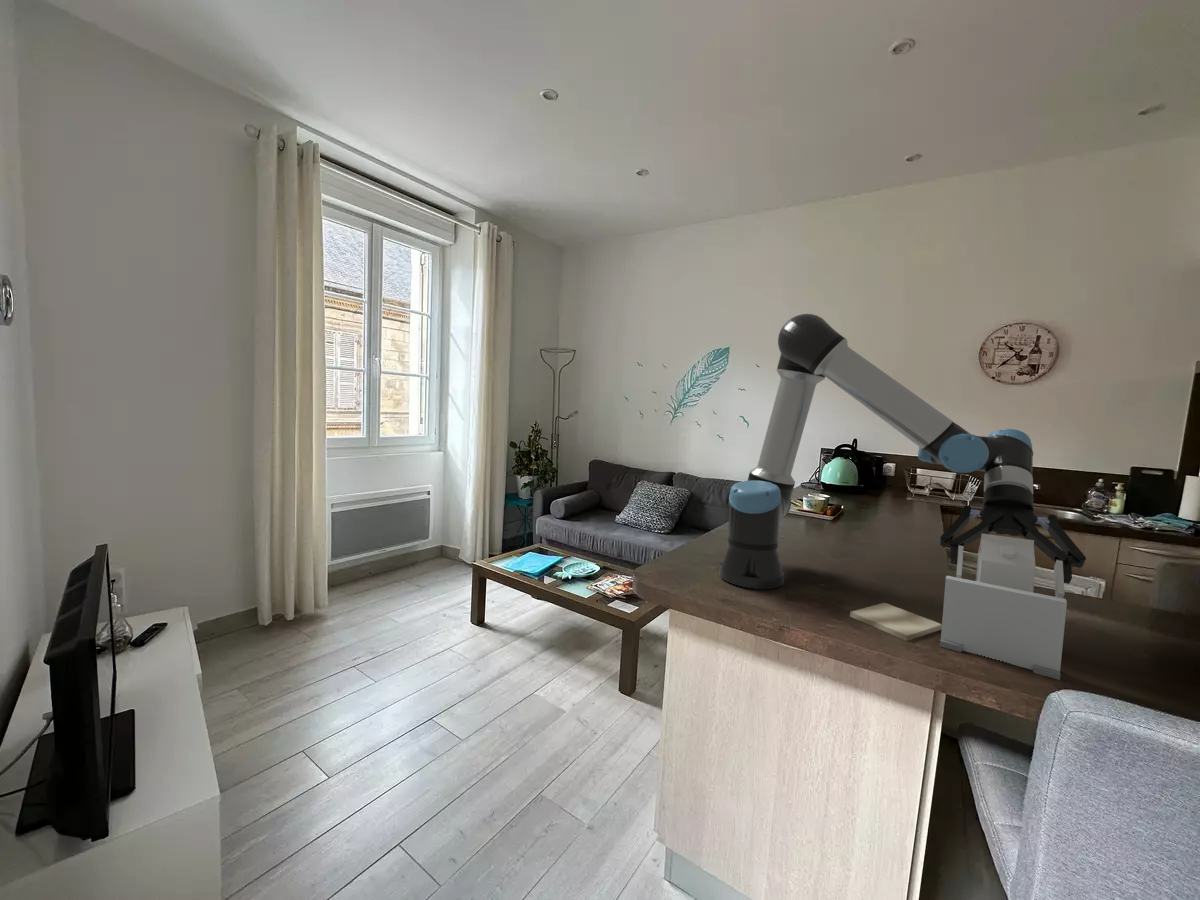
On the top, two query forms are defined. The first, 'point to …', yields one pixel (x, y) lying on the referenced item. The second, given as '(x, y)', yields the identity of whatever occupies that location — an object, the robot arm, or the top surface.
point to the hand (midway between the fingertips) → (1006, 587)
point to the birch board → (896, 621)
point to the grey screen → (1004, 624)
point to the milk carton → (1006, 562)
